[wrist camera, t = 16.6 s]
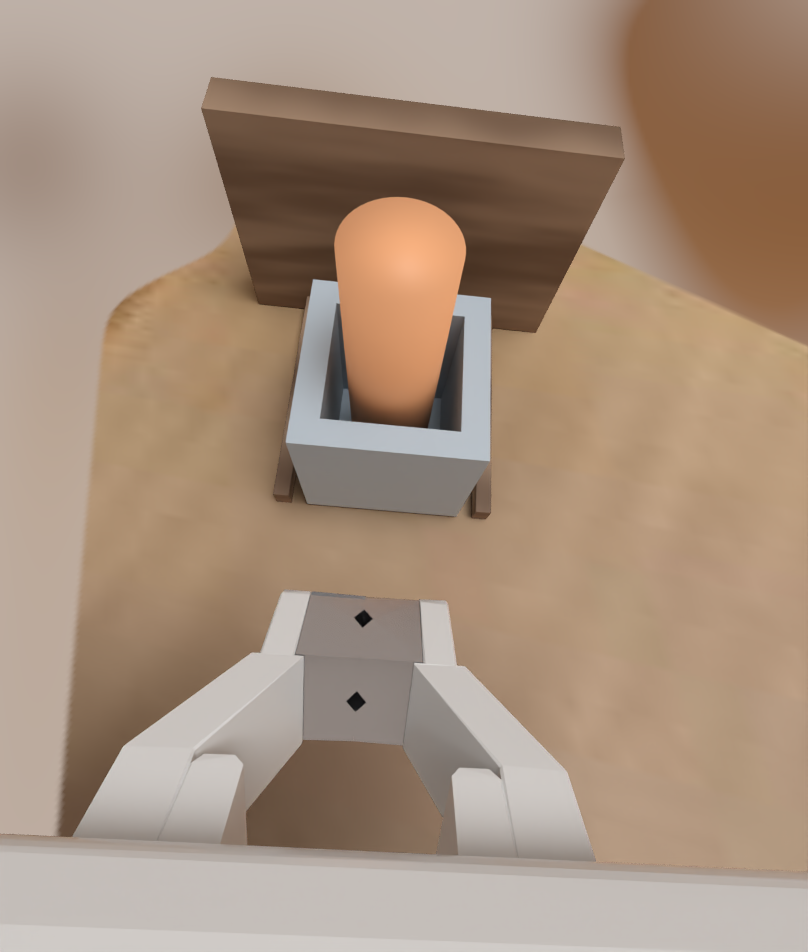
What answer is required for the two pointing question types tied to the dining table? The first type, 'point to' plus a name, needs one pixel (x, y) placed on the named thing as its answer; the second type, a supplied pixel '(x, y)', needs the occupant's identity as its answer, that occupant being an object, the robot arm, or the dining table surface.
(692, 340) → the dining table surface
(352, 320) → the dowel
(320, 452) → the socket block
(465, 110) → the backstop wall
